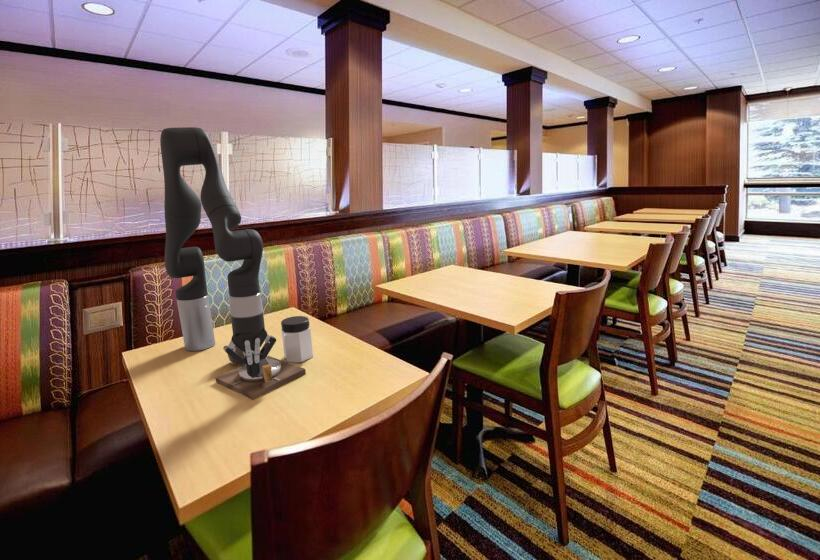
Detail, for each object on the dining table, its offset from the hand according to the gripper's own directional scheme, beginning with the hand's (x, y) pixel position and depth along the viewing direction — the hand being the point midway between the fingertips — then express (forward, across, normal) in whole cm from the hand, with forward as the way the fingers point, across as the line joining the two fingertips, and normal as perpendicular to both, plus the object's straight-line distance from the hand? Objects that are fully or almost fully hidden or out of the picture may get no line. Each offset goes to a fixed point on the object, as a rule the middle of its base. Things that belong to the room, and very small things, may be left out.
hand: (254, 376), depth 109 cm
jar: (+5, +18, +14) cm, 23 cm away
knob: (+3, +4, +5) cm, 7 cm away
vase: (+5, +2, +22) cm, 23 cm away
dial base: (+5, +4, +8) cm, 10 cm away
